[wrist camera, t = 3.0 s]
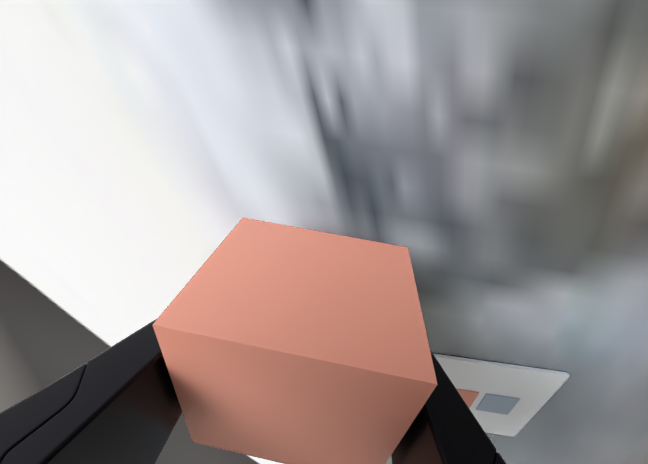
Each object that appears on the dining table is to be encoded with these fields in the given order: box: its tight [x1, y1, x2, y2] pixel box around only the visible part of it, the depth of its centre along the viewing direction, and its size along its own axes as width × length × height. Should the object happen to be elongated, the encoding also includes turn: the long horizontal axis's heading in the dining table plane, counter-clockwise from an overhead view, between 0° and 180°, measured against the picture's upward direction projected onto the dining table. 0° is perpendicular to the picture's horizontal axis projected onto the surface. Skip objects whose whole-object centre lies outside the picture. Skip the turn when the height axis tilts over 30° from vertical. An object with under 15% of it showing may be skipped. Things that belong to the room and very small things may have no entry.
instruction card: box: [434, 354, 570, 437], centre depth 16 cm, size 9×7×1 cm
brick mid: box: [153, 218, 437, 464], centre depth 8 cm, size 5×5×4 cm
